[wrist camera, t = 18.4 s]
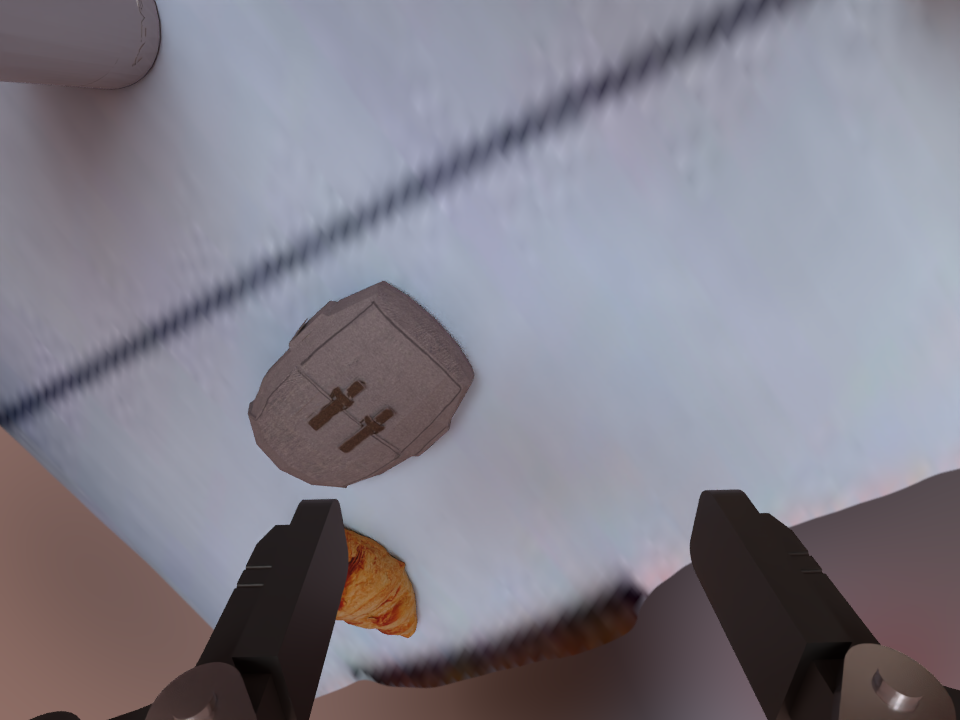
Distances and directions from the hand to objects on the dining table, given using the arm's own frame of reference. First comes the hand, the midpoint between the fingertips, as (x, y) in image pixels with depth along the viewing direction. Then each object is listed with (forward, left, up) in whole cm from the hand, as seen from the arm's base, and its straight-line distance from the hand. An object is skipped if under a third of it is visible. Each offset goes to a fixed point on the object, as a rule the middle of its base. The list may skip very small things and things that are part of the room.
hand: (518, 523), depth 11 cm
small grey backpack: (-6, -17, -34) cm, 38 cm away
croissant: (-1, -41, -34) cm, 53 cm away
